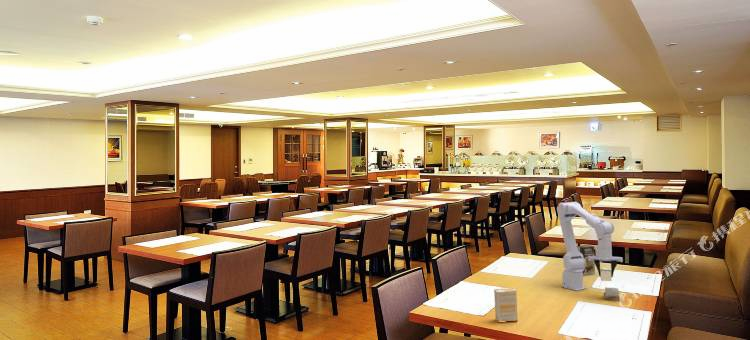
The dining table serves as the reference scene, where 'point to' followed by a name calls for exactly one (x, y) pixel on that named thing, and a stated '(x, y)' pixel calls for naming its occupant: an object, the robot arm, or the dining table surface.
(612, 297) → the walnut slab
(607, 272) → the cream cube
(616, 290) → the grey slab
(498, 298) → the supplement box
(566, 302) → the dining table surface
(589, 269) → the coffee box
